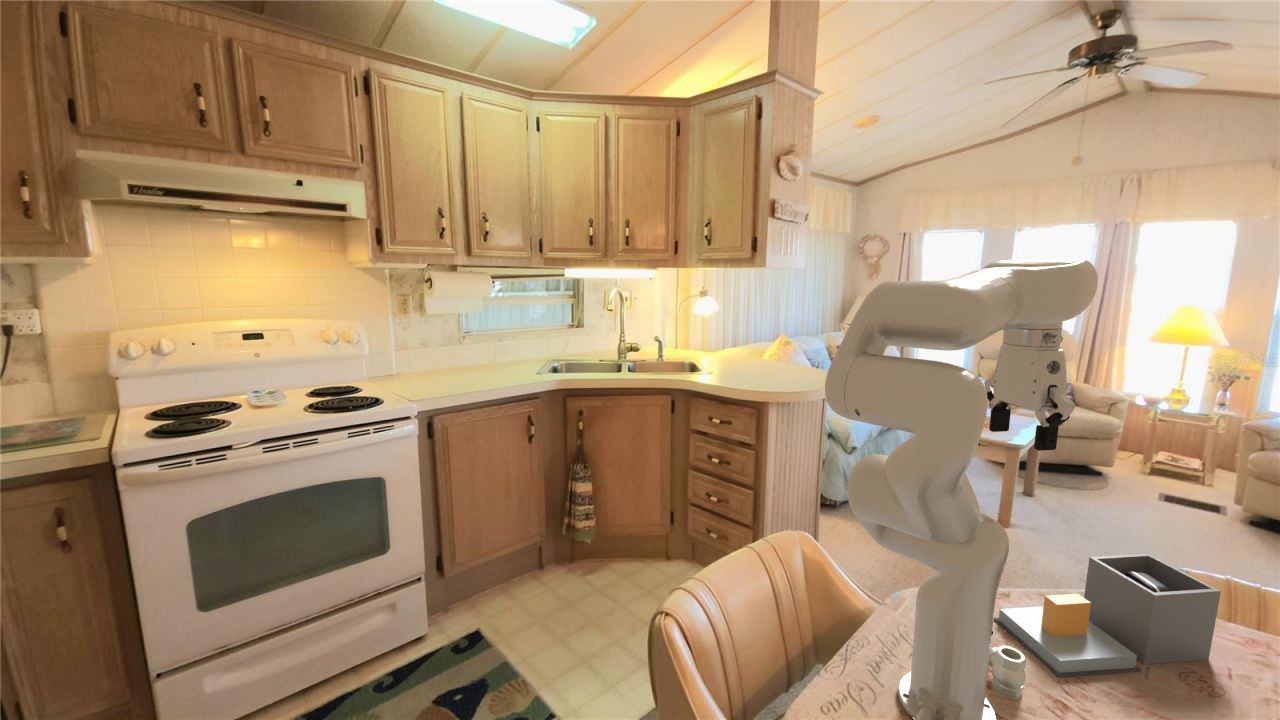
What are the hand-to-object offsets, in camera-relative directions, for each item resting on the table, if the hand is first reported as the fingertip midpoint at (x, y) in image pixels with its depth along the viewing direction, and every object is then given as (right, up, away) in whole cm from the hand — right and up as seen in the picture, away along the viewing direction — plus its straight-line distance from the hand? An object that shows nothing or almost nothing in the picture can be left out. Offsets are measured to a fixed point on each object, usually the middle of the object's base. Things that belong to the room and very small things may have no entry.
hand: (1020, 439), depth 87 cm
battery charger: (+24, -36, +4) cm, 43 cm away
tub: (+24, -36, +4) cm, 43 cm away
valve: (-7, -38, -2) cm, 38 cm away
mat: (+10, -36, +3) cm, 37 cm away
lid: (+10, -36, +3) cm, 37 cm away
